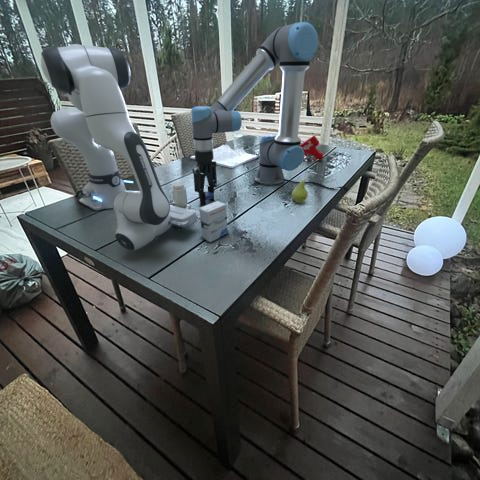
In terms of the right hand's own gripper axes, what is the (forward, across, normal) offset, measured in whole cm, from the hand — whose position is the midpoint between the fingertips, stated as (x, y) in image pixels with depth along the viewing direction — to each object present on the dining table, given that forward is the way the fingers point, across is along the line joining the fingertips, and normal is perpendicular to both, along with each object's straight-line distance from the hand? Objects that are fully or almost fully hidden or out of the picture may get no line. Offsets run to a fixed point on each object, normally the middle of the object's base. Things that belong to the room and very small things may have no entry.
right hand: (207, 202), depth 121 cm
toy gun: (0, -85, +16) cm, 87 cm away
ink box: (+1, +21, +18) cm, 28 cm away
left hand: (-6, +16, +1) cm, 18 cm away
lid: (-4, 0, 0) cm, 4 cm away
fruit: (0, -22, +35) cm, 41 cm away
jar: (+1, +17, +1) cm, 17 cm away
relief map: (0, -62, -32) cm, 70 cm away
